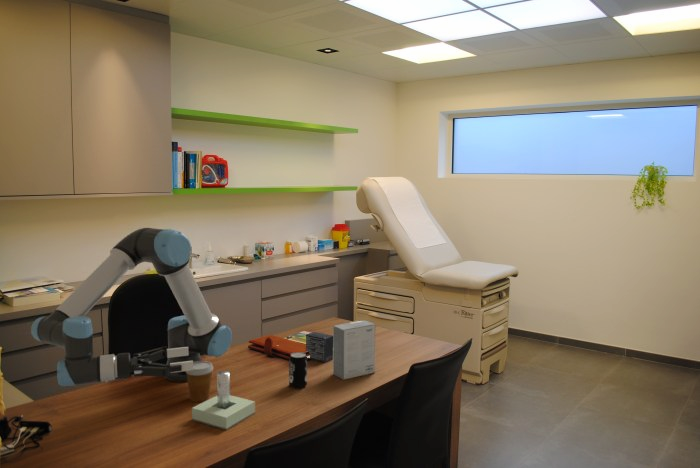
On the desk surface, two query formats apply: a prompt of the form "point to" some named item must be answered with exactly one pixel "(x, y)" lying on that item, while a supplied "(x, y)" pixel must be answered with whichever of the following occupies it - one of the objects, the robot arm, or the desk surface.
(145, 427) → the desk surface
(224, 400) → the pin
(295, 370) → the beverage can
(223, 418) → the socket block
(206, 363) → the disposable coffee cup
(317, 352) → the small box
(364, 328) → the hard drive box
